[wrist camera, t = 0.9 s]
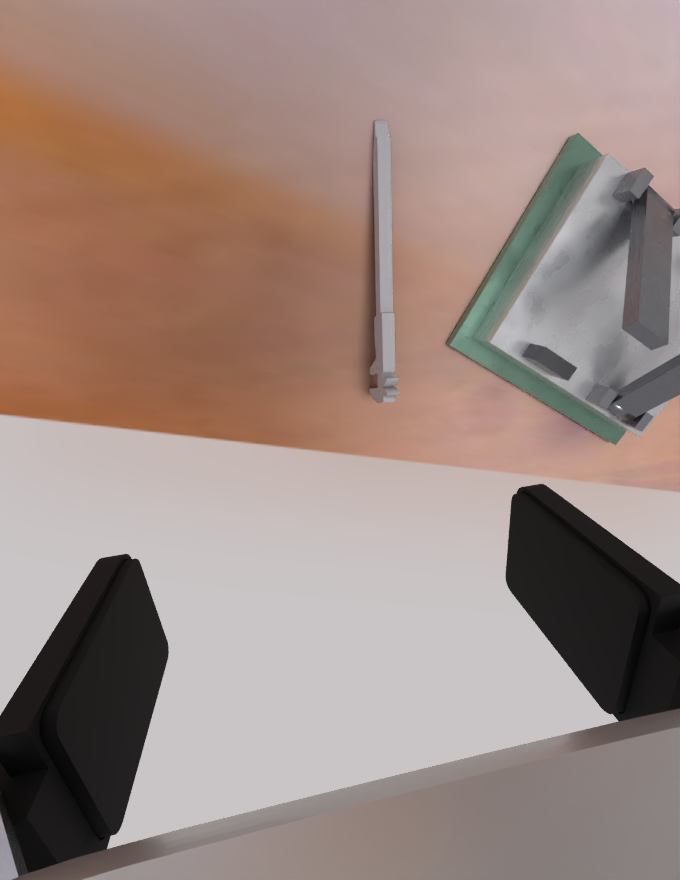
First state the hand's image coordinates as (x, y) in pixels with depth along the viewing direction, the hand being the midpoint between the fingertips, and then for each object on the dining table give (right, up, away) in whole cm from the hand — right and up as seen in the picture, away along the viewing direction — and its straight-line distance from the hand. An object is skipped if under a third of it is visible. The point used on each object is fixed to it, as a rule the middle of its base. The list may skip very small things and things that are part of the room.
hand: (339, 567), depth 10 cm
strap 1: (+21, +15, +18) cm, 32 cm away
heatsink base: (+23, +15, +27) cm, 39 cm away
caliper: (+3, +17, +23) cm, 29 cm away
